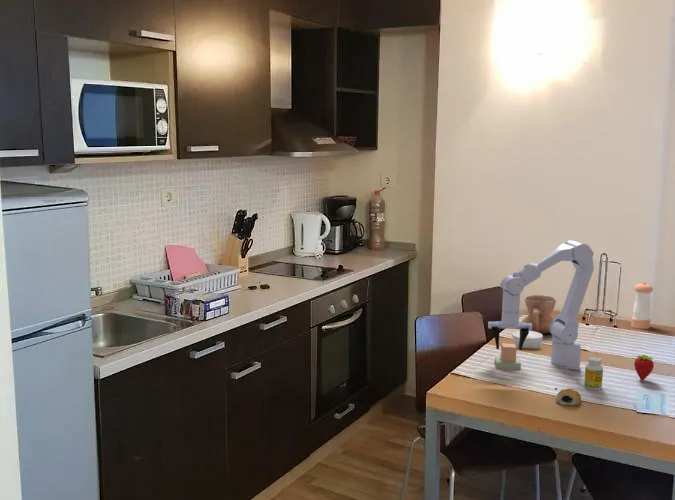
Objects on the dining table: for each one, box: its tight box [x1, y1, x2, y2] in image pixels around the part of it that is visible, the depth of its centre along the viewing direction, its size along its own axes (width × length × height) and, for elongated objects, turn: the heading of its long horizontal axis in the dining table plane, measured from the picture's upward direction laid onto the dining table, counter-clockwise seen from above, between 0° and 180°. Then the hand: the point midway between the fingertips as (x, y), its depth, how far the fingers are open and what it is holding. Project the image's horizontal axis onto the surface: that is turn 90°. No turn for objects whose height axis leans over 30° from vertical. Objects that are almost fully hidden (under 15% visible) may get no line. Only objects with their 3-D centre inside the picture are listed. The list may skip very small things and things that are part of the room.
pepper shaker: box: [630, 281, 654, 330], centre depth 292 cm, size 7×7×19 cm
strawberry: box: [633, 354, 655, 381], centre depth 229 cm, size 6×8×10 cm
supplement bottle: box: [584, 356, 604, 391], centre depth 223 cm, size 5×5×10 cm
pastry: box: [555, 388, 582, 407], centre depth 212 cm, size 9×7×4 cm
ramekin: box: [511, 330, 544, 350], centre depth 264 cm, size 11×11×5 cm
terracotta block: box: [500, 342, 518, 362], centre depth 240 cm, size 4×4×5 cm
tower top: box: [494, 354, 522, 370], centre depth 241 cm, size 8×8×2 cm
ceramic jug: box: [520, 294, 557, 335], centre depth 284 cm, size 18×14×14 cm
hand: (508, 348), depth 240 cm, fingers open, 7 cm apart
